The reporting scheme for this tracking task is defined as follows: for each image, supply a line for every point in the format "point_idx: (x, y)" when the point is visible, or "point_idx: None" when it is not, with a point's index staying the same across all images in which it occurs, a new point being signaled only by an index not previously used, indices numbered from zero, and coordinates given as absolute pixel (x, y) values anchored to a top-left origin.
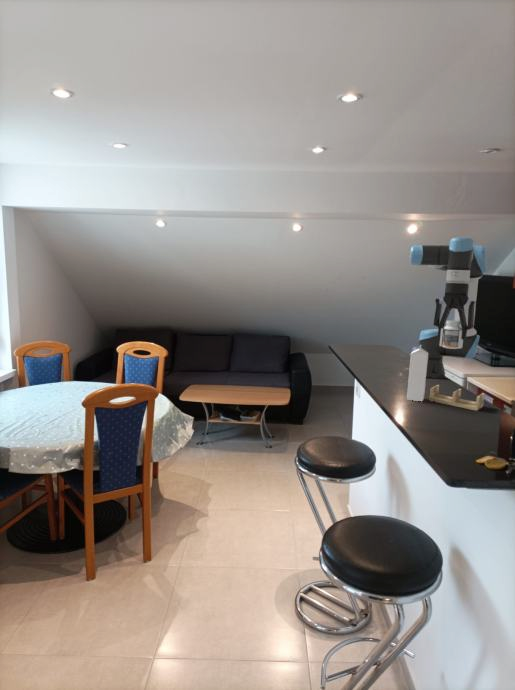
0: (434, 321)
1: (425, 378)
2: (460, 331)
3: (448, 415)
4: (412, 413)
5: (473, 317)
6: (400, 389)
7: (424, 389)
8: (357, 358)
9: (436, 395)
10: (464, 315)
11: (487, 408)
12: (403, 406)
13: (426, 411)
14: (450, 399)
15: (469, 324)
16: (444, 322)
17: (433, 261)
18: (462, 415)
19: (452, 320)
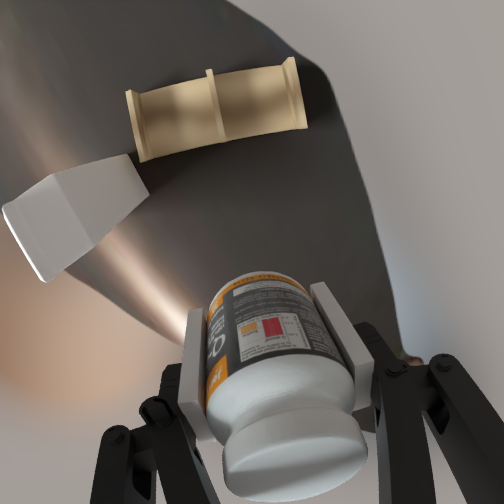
0: (134, 487)
1: (112, 176)
2: (358, 402)
3: (270, 245)
4: (208, 310)
5: (499, 428)
6: (33, 134)
7: (124, 169)
8: None
9: (144, 112)
10: (427, 488)
11: (302, 76)
12: (154, 281)
13: (216, 266)
14: (198, 113)
15: (442, 422)
16: (199, 465)
17: None
18: (293, 211)
19: (278, 471)
